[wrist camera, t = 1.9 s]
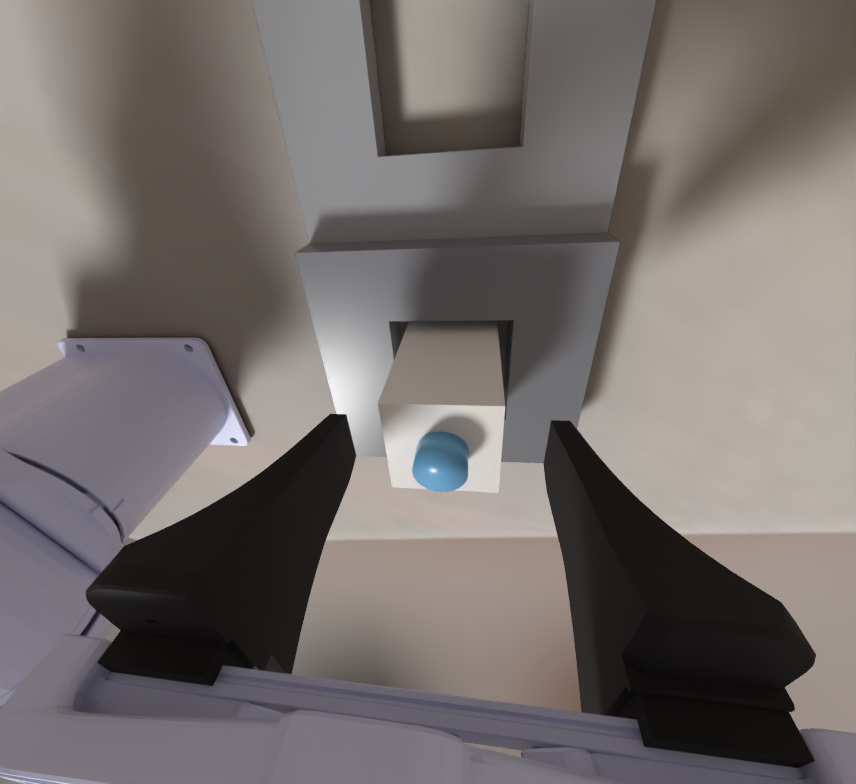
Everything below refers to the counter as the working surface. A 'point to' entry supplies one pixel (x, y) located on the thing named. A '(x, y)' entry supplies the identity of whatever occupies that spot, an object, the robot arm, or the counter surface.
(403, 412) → the plug block
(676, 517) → the counter surface
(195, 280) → the counter surface
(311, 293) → the jack panel
